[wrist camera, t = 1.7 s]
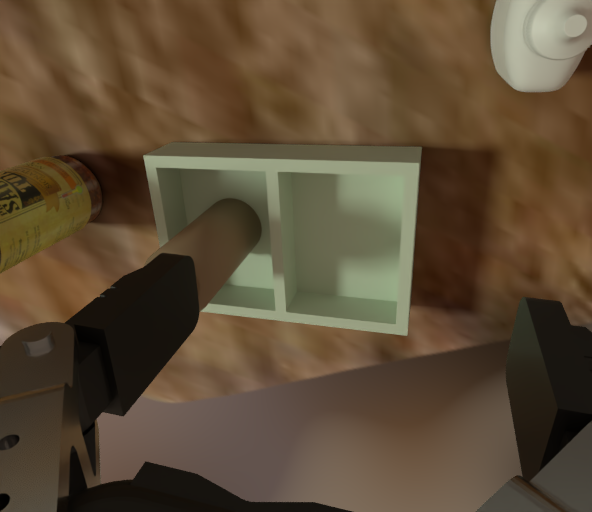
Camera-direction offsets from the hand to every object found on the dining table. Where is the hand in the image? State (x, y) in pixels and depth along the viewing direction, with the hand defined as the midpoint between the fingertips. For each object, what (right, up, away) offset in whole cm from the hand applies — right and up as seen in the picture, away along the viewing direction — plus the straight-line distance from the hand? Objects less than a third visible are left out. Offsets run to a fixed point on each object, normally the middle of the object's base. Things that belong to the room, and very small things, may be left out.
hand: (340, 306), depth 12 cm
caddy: (-1, +4, +24) cm, 24 cm away
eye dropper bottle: (+12, +14, +15) cm, 24 cm away
